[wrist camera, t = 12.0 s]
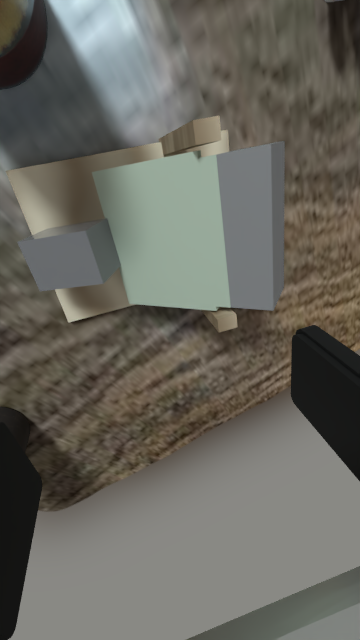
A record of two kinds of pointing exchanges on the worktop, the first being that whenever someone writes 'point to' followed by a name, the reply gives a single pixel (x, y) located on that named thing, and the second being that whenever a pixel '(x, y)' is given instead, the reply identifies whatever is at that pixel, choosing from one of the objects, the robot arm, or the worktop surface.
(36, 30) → the vase
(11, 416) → the container
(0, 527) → the robot arm
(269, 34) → the worktop surface
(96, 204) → the frame
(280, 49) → the worktop surface
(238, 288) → the trapdoor
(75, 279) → the basalt block
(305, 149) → the worktop surface
